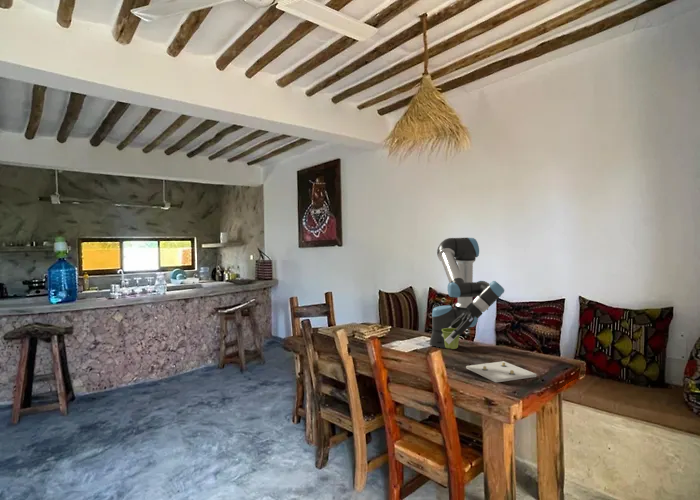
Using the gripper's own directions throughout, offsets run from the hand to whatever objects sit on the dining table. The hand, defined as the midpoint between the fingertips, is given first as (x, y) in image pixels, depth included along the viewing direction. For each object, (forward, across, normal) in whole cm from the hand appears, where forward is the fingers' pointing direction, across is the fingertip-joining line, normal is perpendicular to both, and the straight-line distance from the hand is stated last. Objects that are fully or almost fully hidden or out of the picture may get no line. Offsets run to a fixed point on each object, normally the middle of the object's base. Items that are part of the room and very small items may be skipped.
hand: (445, 339), depth 200 cm
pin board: (-8, -9, -26) cm, 29 cm away
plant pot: (+1, 0, -5) cm, 5 cm away
